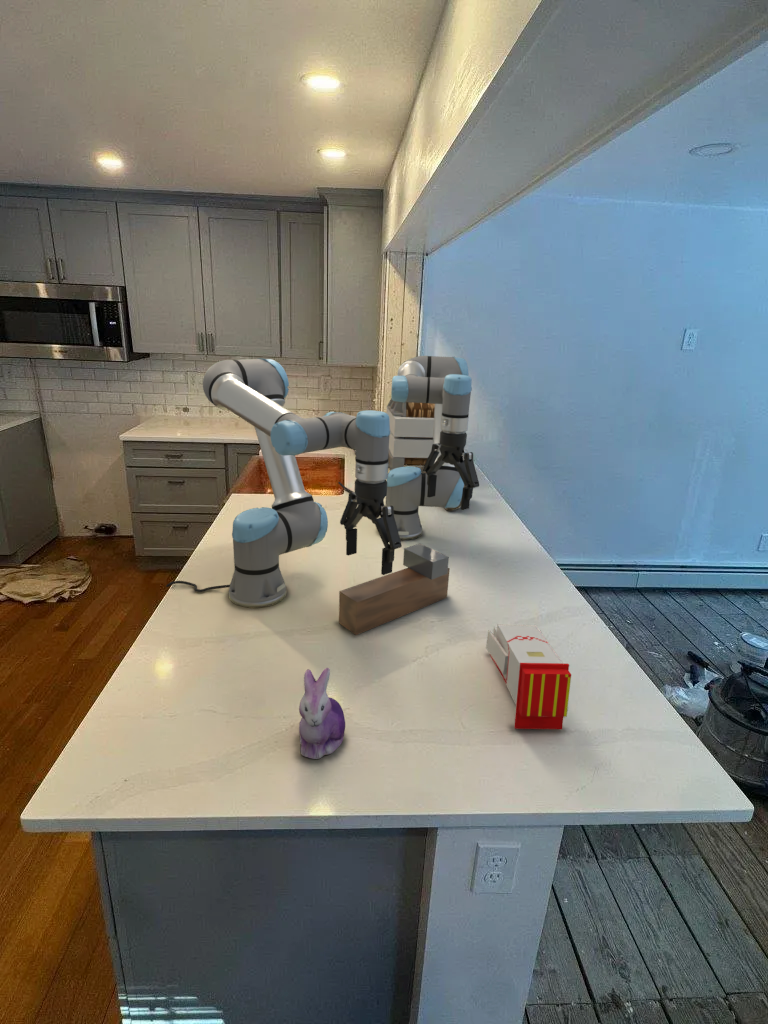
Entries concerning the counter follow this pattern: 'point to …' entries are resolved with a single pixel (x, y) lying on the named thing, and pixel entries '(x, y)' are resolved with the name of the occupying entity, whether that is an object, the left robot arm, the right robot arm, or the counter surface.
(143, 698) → the counter surface
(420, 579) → the walnut stand
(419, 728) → the counter surface
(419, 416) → the transformer
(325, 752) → the figurine
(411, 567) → the grey block
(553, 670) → the toy
